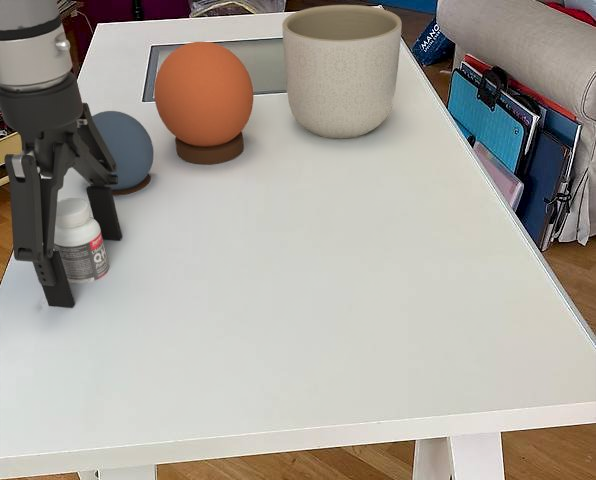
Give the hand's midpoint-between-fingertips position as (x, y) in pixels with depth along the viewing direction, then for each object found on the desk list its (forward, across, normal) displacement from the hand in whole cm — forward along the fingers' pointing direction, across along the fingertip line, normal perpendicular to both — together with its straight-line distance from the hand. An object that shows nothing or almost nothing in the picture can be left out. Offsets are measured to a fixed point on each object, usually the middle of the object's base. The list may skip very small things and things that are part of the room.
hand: (87, 269), depth 82 cm
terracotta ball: (+2, +36, -4) cm, 36 cm away
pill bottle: (+2, 0, 0) cm, 2 cm away
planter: (+2, +47, -22) cm, 52 cm away
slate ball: (+2, +21, +4) cm, 22 cm away
